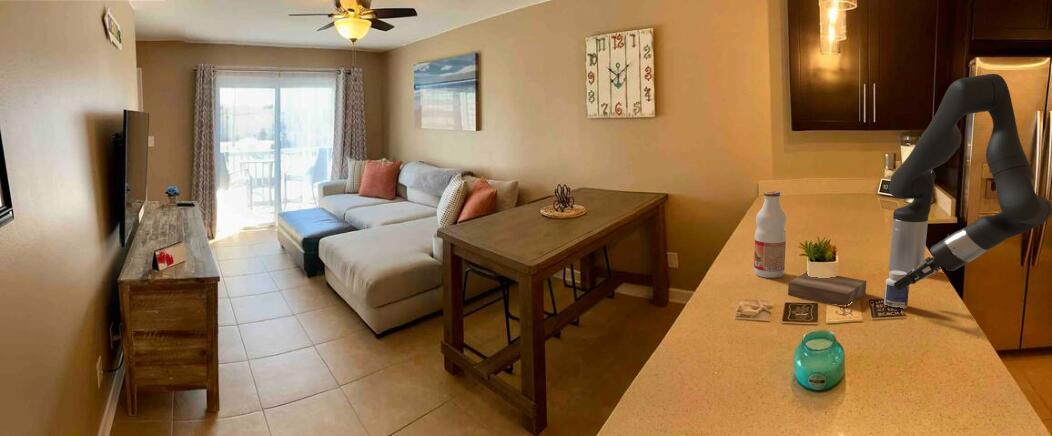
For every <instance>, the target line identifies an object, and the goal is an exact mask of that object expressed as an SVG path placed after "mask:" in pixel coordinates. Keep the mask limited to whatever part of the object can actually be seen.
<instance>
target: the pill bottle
mask: <svg viewBox="0 0 1052 436" xmlns="http://www.w3.org/2000/svg"><path fill="white" fill-rule="evenodd" d="M906 275H907V273H906V272H903V271H896V270H893V271H892V270H890V271H889V272H888V278H886V280H885V283H884V284H885V286H884V299H883V305H884V304H885V305H888V306H892V307H900V308H903V309H902V310H905V309H907V308H908V302H909V292H910V285H908V286H906V287H905V288H903V289H901V290H898V289H897V288H896V287H895V286H894V283H895V282H897V281H898V280H900V279H902V278H903V277H905V276H906ZM885 305H884V306H885Z"/></svg>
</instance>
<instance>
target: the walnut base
mask: <svg viewBox="0 0 1052 436" xmlns="http://www.w3.org/2000/svg"><path fill="white" fill-rule="evenodd" d="M807 272H808V271H806V272H804V273H802V274H801V275H798V276H797V277H796V278H794V279H792V280H790V281H788V285H787V286H788V289H787V295H788V296H791V297H794V298H795V297H796V298H801V299H805V300H809V301H815V302H820V303H824V304H828V305H832V304H837V305H846V306H847V305H848V304H850V303H851V302H854V301H855V302H857V301H858V300H859V299H860V298H862V297H863V296H865V295H866V293H867V280H864V279H858V278H853V277H849V276H847V277H846V276H842V275H837V276H836V277H830V278H818V277H810V276H808V274H807ZM855 302H854V303H855ZM837 305H836V306H837Z"/></svg>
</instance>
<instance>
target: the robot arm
mask: <svg viewBox="0 0 1052 436" xmlns="http://www.w3.org/2000/svg"><path fill="white" fill-rule="evenodd" d="M983 112H984V113H985V112H988V114H989V116H990V117H991V121H992V131H991V134H990V138H989V140H988V142H987V146H986V150H985V158H986V159H985V160H986V163H987V166H988V169H989V172H990V173H991V176H992V178H993V181H994V182H995V186H996V187H995V188H996V195H997V201H998V205H999V208H1000V210H1001V211H1000V212H997V213H995V214H992V215H985V216H982V217H979V219H977V220H975V221H973V222H972V223H970V224H968V225H966V226H965V227H963V228H962V229H959V230H957V231H955V232H953V233H952V234H950V235H948V236H946V237H945V238H943V239H942V240H940V241H938V242H937V243H935V244H934V245H932V246H931V247H930V248H929V251H930V254H931V256H932V257H931V256H928V257H926V258H925V253H926V244H927V243H926V242H927V233H928V224H929V223H928V221H929V215H930V212H931V208H932V207H931V206H932V200H933V194H934V188H935V178H934V175H933V172H932V171H931V170H934V169H936V168H938V167H940V166H941V165H943V164H945V163H946V162H948V161H949V160H950V159H951V158H952V157H953V155H954V154H955V153H956V151H957V150H958V149H959V147H960V146H961V144H962V140H963V139H962V138H963V137H962V133H961V131H960V128H959V126H958V123H959V121H960V120H961V119H962V118H963V117H964V116H966V115H969V114H977V113H983ZM1034 178H1035V177H1034V172H1033V170H1032V167H1031V164H1030V162H1029V160H1028V157H1027V155H1026V152H1025V151H1024V149H1023V146H1022V143H1021V140H1020V136H1019V131H1018V127H1017V120H1016V115H1015V111H1014V106H1013V101H1012V98H1011V92H1010V90H1009V86H1008V84H1007V81H1006V80H1005V79H1004V77H1003V76H1001V75H1000V74H997V73H988V74H981V75H980V74H979V75H973V76H967V77H963V78H959V79H957V80H955V81H953V82H952V83H951V84H950V85H949V87H948V88H947V90H946V91H945V93H944V96H943V97H942V100H941V102H940V104H939V107H938V109H937V111H936V112H935V115H934V117H933V118H932V119H931V121H930V123H929V124H928V126H927V128H926V129H925V130H924V132H923V133H922V135H921V136H920V138H919V139H918V140H917V142H916V144H915V146H914V147H913V149H912V151H911V152H910V153H909V155H908V156H907V157H906V158H905V160H904V161H903V162H902V164H900V165H899V167H898V168H897V169H896V170H895V171H894V172H893V174H892V176H891V177H890V181H889V183H888V190H889V193H890V195H891V196H892V197H894V198H895V199H899V200H901V199H902V200H903V199H905V200H908V199H909V200H912V201H911V202H910V203H909V204H907V205H904V206H902V207H898V208H895V210H894V211H893V215H892V217H893V218H892V226H891V239H890V249H889V250H890V251H889V252H890V253H889V264H888V269H889V270H890V271H893V270H896V271H903V272H906V273H907V275H906V276H905V277H903V278H902V279H900V280H898V281H897V282H895V283H894V286H895V287H896V288H897V289H898V290H901V289H903V288H905V287H906V286H908V285H909V286H910V285H914V284H916V283H918V282H919V281H920V280H921V281H923V280H925V279H926V278H928V277H929V276H931V275H935V274H937V273H938V272H939V271H940V270H941V269H942V268H944V269H945V270H948V271H950V272H953V271H955V270H958V269H960V268H961V267H963V266H965V265H966V264H968V263H970V262H972V261H974V260H975V259H977V258H979V257H981V256H982V255H983V254H984V253H986V252H987V251H989V250H991V249H992V248H994V247H996V246H999V244H1002V242H1004V241H1006V240H1008V239H1011V238H1012V237H1016V236H1018V235H1021V234H1023V233H1026V232H1029V231H1030V230H1032V229H1036V227H1039V226H1040V225H1042V224H1044V223H1045V222H1047V221H1048V220H1049V219H1050V217H1051V216H1052V202H1050V200H1048V199H1047V198H1046V197H1043V196H1040V195H1038V194H1036V191H1035V189H1034V185H1033V183H1032V181H1033V179H1034ZM941 267H942V268H941Z"/></svg>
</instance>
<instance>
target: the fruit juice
mask: <svg viewBox="0 0 1052 436" xmlns="http://www.w3.org/2000/svg"><path fill="white" fill-rule="evenodd" d="M763 197H764V202H763V204H762V207H761V209H760V210H759V211H758V212H757V213H756V216H755V223H756V226H757V227H756V229H755V233H754V255H753V273H754V275H756V276H758V277H761V278H766V279H776V278H777V279H778V278H781V277H784V275H785V266H786V265H785V264H786V246H787V245H786V244H787V243H786V242H787V233H786V230H785V226H786V223H787V215H786V213H785V212H784V211H783V210H782V206H781V204H780V198H781V192H780V191H776V190H773V191H772V190H771V191H770V190H768V191H764V192H763Z"/></svg>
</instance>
